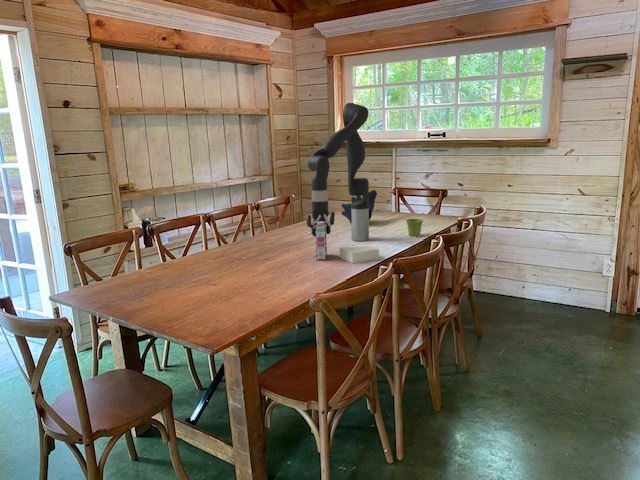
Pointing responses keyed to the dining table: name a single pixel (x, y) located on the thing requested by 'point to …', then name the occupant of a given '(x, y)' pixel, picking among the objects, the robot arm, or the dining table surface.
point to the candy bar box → (321, 241)
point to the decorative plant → (347, 207)
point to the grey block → (359, 253)
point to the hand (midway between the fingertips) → (321, 235)
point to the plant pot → (414, 226)
